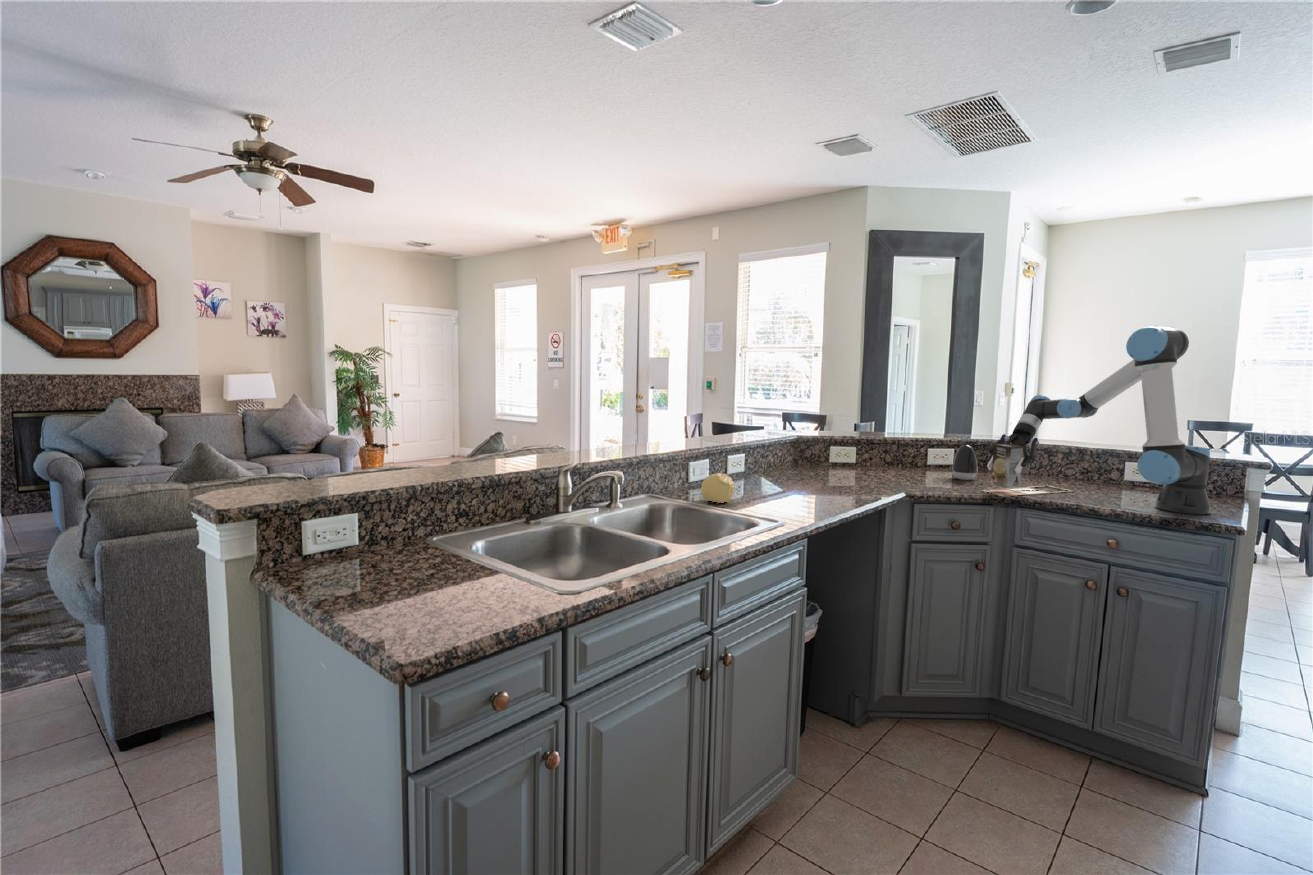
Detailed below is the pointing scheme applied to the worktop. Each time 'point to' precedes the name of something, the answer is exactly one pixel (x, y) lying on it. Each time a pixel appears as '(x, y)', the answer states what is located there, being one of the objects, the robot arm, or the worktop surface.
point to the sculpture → (718, 488)
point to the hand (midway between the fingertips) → (1002, 470)
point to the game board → (1018, 491)
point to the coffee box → (1006, 465)
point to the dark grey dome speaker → (965, 463)
